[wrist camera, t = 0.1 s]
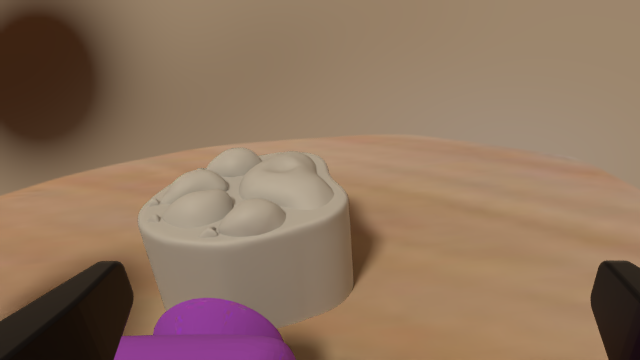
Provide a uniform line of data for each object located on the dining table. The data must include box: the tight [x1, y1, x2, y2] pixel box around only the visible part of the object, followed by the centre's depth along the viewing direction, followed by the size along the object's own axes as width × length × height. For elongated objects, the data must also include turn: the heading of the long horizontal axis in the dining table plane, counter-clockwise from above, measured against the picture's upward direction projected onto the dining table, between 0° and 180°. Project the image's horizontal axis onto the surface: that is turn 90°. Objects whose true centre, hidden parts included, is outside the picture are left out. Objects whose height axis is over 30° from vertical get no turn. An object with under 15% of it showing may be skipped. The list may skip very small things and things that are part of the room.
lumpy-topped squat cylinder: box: [138, 148, 354, 329], centre depth 32 cm, size 10×13×9 cm
